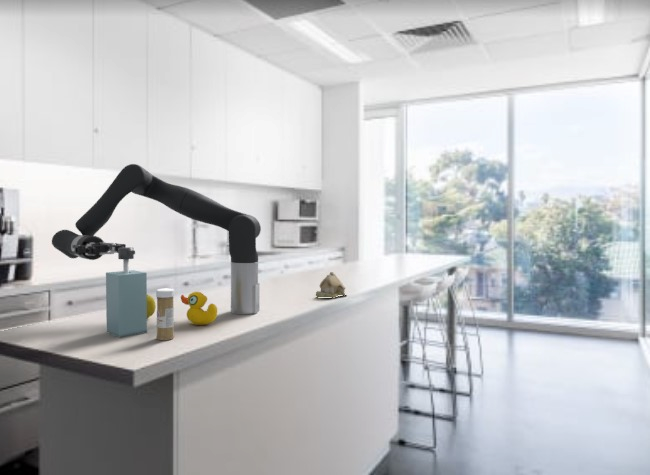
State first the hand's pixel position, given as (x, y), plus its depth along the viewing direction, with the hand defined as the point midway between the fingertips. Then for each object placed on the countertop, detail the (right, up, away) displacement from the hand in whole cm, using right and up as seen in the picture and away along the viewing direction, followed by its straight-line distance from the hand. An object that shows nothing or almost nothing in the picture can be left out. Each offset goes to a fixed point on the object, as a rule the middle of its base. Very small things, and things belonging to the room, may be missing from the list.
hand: (109, 250), depth 146 cm
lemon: (+7, -22, +11) cm, 26 cm away
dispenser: (+8, -23, -6) cm, 25 cm away
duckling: (+26, -23, +4) cm, 35 cm away
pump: (+9, -14, -8) cm, 18 cm away
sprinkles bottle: (+21, -24, -12) cm, 34 cm away
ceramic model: (+66, -21, +56) cm, 89 cm away
